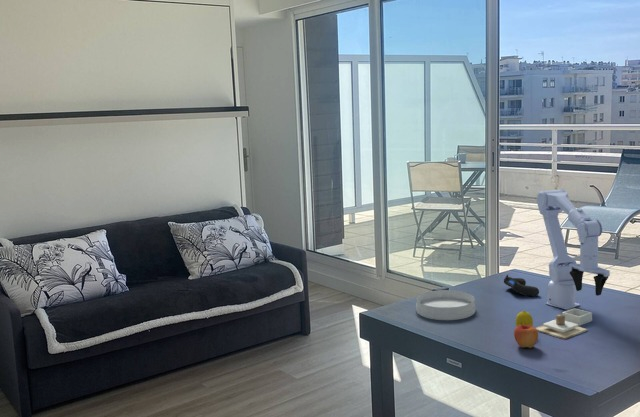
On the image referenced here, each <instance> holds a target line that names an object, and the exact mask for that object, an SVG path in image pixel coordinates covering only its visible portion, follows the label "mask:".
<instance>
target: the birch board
mask: <svg viewBox="0 0 640 417" xmlns="http://www.w3.org/2000/svg"><path fill="white" fill-rule="evenodd" d="M535 328H536V329H537V331H538V333H542V334H546V335H549V336H552V337H555V338H558V339H560V340H563V341H565V340H567V339H570V338H572V337H575V336H577V335H580V334H583V333H586V332H588V329H587V328H584V327H581V326H578V327H576V328H573V329H571V330H568V331H566V332H563V333H562V332H559V331H555V330H552V329H549V328H547V327H544V326H543V324H542V325H539V326H537V327H535Z"/></svg>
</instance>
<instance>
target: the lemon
mask: <svg viewBox="0 0 640 417" xmlns="http://www.w3.org/2000/svg"><path fill="white" fill-rule="evenodd" d="M515 317H516V318H515V326H516V327H517V326H519V325H521V323H522V325H530V326H533V327H534V320H533V316H532V315H531V313H530V312H528V311H526V310H522V311H520V312H518V313H517V315H516V316H515ZM516 327H515V328H516Z"/></svg>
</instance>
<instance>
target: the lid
mask: <svg viewBox="0 0 640 417" xmlns="http://www.w3.org/2000/svg"><path fill="white" fill-rule="evenodd" d="M542 325H543V326H544V327H547V328H549V329H552V330H555V331H559V332H562V333H563V332H566V331H568V330H571V329H573V328H576V327H579V325H578V324H575V323H572V322H568V321H565V315H563V314H562V313H560V314H559V313H557V314H555V319H553V320H550V321H547V322H544V323H542Z"/></svg>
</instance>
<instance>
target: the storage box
mask: <svg viewBox="0 0 640 417" xmlns="http://www.w3.org/2000/svg"><path fill="white" fill-rule="evenodd" d="M561 314H563V315H565V321H568V322H572V323H575V324H578V327H581V326H582V325H585V324H589V323H590V322H593V312H591V311H587V310H583V309H581V308H577V307H573V308H571V309H568V310H565V311H562V312H561Z"/></svg>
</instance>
